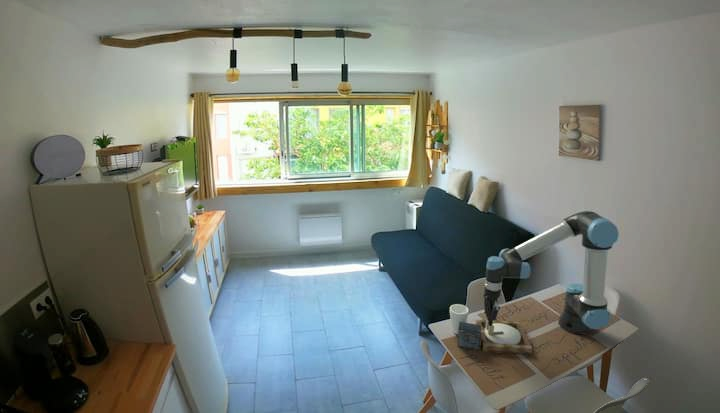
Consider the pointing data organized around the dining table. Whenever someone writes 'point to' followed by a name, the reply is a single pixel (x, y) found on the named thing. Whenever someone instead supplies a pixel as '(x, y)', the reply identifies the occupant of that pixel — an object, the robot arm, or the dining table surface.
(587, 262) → the robot arm
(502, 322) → the housing
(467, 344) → the small box
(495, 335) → the dial
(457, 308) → the foam cup
